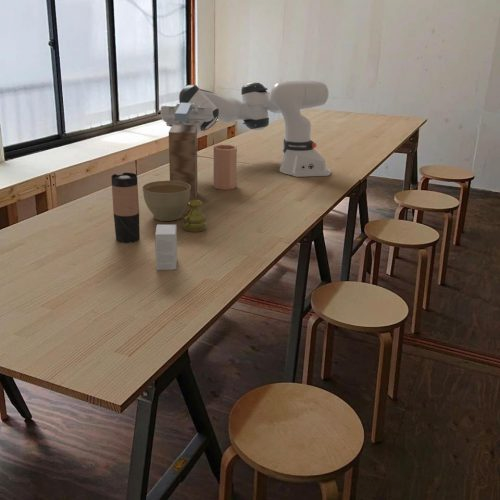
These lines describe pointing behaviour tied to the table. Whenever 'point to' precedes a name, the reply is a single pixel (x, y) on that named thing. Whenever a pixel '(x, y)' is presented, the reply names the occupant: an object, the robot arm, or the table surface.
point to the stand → (184, 156)
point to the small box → (166, 247)
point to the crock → (225, 167)
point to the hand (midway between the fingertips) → (185, 105)
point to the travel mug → (126, 207)
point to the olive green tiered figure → (194, 217)
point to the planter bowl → (166, 199)
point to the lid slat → (183, 112)
